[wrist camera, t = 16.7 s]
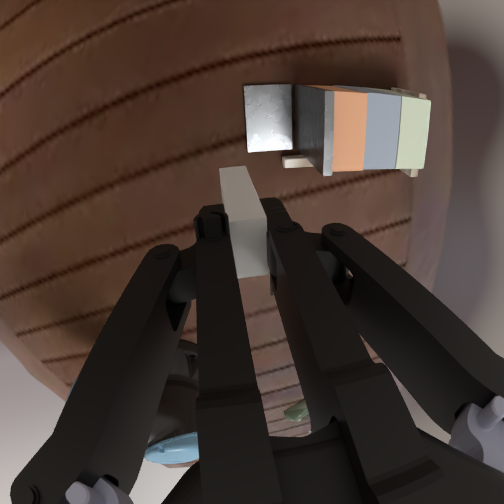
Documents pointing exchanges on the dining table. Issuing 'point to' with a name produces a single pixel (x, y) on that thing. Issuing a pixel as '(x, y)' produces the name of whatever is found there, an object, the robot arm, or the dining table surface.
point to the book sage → (411, 130)
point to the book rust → (348, 128)
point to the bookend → (280, 121)
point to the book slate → (380, 128)
